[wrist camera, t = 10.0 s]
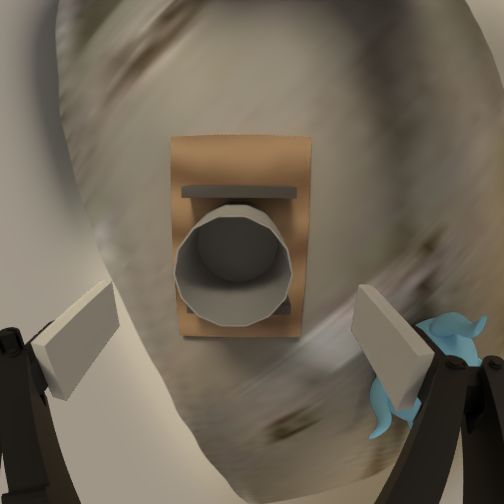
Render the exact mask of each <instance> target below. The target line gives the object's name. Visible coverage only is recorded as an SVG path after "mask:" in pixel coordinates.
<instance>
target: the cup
mask: <svg viewBox="0 0 504 504" xmlns="http://www.w3.org/2000/svg"><path fill="white" fill-rule="evenodd" d="M173 275H174V278H175V282H176V285H177V288H178V291H179V294H180V297H181V299H182V300H183V301H184V302H185V303H186V304H187V305H188V306H189V307H190V308H191V310H192V311H193V312H194V313H195V314H196V315H197V316H198V317H201V318H203V319H205V320H207V321H210V322H212V323H214V324H217V325H219V326H231V327H246V326H249V325H251V324H254V323H256V322H258V321H261V320H263V319H265V318H268V317H270V316H271V314H272V313H273V312H274V311H275V310H276V309H277V308H278V307H279V306H280V305H281V304H282V302H283V301H284V300H285V299H286V297H287V294H288V290H289V287H290V283H291V280H292V277H293V271H292V266H291V261H290V256H289V251H288V248H287V246H286V244H285V242H284V240H283V238H282V236H281V234H280V232H279V230H278V228H277V226H276V224H275V223H274V222H273V221H272V219H271V218H270V217H269V216H268V214H267V213H266V212H265V210H263V209H261V208H259V207H257V206H255V205H253V204H251V203H249V202H226V203H224V204H222V205H220V206H218V207H216V208H214V209H212V210H211V211H209V212H208V213H207V214H206V215H205V216H204V217H203V218H202V219H201V220H200V221H199V222H198V223H197V224H196V225H195V226H194V227H193V228H192V229H191V231H190V232H189V233H188V235H187V236H186V237H185V239H184V240H183V242H182V243H181V244H180V246H179V247H178V248H177V252H176V259H175V265H174V272H173Z"/></svg>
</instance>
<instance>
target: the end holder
mask: <svg viewBox="0 0 504 504" xmlns="http://www.w3.org/2000/svg"><path fill="white" fill-rule="evenodd" d="M310 170H311V138H310V137H294V136H270V135H205V136H182V137H171V215H172V240H173V258H174V265H175V259H176V252H177V248H178V247H179V246H180V244H181V243H182V242H183V240H184V239H185V237H186V236H187V235H188V233H189V232H190V231H191V229H192V228H193V227H194V226H195V225H196V224H197V223H198V222H199V221H200V220H201V219H202V218H203V217H204V216H205V215H206V214H207V213H208V212H209V211H211V210H212V209H214V208H216V207H218V206H220V205H222V204H224V203H226V202H249V203H251V204H253V205H255V206H257V207H259V208H261V209H263V210H265V212H266V213H267V214H268V216H269V217H270V218H271V219H272V221H273V222H274V223H275V224H276V226H277V228H278V230H279V232H280V234H281V236H282V238H283V240H284V242H285V244H286V246H287V248H288V251H289V256H290V261H291V266H292V271H293V277H292V280H291V283H290V287H289V290H288V294H287V297H286V299H285V300H284V301H283V302H282V304H281V305H280V306H279V307H278V308H277V309H276V310H275V311H274V312H273V313H272V314H271V316H270V317H268V318H265V319H263V320H261V321H258V322H256V323H254V324H251V325H249V326H246V327H231V326H219V325H217V324H214V323H212V322H210V321H207V320H205V319H203V318H201V317H198V316H197V315H196V314H195V313H194V312H193V311H192V310H191V308H190V307H189V306H188V305H187V304H186V303H185V302H184V301H183V300H182V299H181V297H180V294H179V291H178V288H177V285H176V282H175V287H176V299H177V310H178V320H179V330H180V335H184V336H206V337H300V333H301V323H302V312H303V301H304V289H305V275H306V261H307V245H308V226H309V203H310Z"/></svg>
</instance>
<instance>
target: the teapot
mask: <svg viewBox="0 0 504 504" xmlns="http://www.w3.org/2000/svg"><path fill="white" fill-rule="evenodd" d="M486 321H487V316H486V315H484V316H483V317H482V318H481V319H480V320H478V321H477V322H475V323H473V322H470V321H469V320H468V319H466V318H465V317H464V316H462V315H461V314H458V313H455V312H448V313H444V314H442V315H440V316H438V317H435V318H431V319H428V320H425V321H422V322H420V323H418V324H416V325H415V326H417V327H419V328H421V329H422V330H423V331H424V332H425V333H426V334H427V335H428V337H430V338H431V339H432V342H434V343H435V344H436V345H437V346H438V347H439V348H440V349H441V350H442V351H443V352H444V353H445V355H455V356H458V357H461V358H462V359H464V360H465V361H466V362H467V364H468V366H480V365H481V363H482V360H481V359H479V358H477V357H478V354H477V352H476V348H475V345H474V342H473V340H472V338H474V337H476V336H478V335H479V334H480V333H481V331H482V330H483V328H484V326H485V324H486ZM370 403H371V406H372V409H373V411H374V413H375V415H376V417H377V426H376V428H375V430H374V431H373V432H372V434H371V435H370V436H369V439H374V438H376V437H378V436H379V435H381V434H382V433H384V432H385V431H386V430H387V429H388V428H389V427H390V424H391V421H392V416H391V412H392V413H393V414H394V415H396V416H397V417H399V418H401V419H404V420H406V421H407V423H408V426H409V428H410V429H411V428H412V425H413V423H414V422H412V421H413V419H414V417H415V415H416V413H417V411H418V409H419V407H420V405H421V402H420V400H419V399H418V397H417V399H416V401H415V403H414V406H413V408H410V409H406V410H401V411H397V412H396V410H395V408H394V406H393V404H392V402H391V400H390V399H389V397H388V395H387V393H386V391H385V389H384V387H383V386H382V384H381V382H380V380H379V378H378V377H377V376H376V379H375V380H374V382H373V384H372V386H371V389H370Z"/></svg>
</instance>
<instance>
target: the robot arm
mask: <svg viewBox="0 0 504 504" xmlns="http://www.w3.org/2000/svg"><path fill="white" fill-rule="evenodd" d="M119 326H120V325H119V320H118V315H117V309H116V304H115V298H114V292H113V285H112V281H99V282H98V283H97V284H96V285H95V286H93V287H92V288H91V289H90V290H89V291H88V292H86V293H85V294H84V295H83V296H82V297H81V298H79V299H78V300H77V301H76V302H75V303H74V304H72V305H71V306H70V307H69V308H68V309H67V310H66V311H65V312H63V313H62V314H61V315H60V316H59V317H58V318H57V319H55V320H53V321H51V322H49V323H48V324H47V325H46V326H45V327H44V328H43V330H40V331H39V332H38V334H36V335H35V336H34V337H33V338H32V339H31V340H30V341H28V342H27V343H26V344H25V345H24V342H23V339H22V336H21V333H20V330H19V329H17V328H14V327H10V328H5V329H2V330H1V331H0V467H1V457H2V453H3V460H4V467H5V473H6V478H7V484H8V489H9V492H8V493H5V494H2V497H1V499H2V504H81V502H80V500H79V497H78V495H77V493H76V490H75V488H74V486H73V483H72V480H71V478H70V475H69V473H68V470H67V467H66V464H65V461H64V459H63V456H62V453H61V449H60V446H59V443H58V439H57V436H56V432H55V429H54V425H53V421H52V417H51V413H50V409H49V404H48V400H47V397H46V395H45V392H44V391H45V390H46V389H47V387H49V389H50V391H51V394H52V396H53V397H55V398H58V399H62V400H65V401H67V400H68V398H69V397H70V395H71V394H72V392H73V391H74V389H75V388H76V386H77V385H78V383H79V382H80V380H81V379H82V377H83V376H84V375H85V373H86V372H87V370H88V369H89V367H90V366H91V365H92V363H93V362H94V360H95V359H96V358H97V356H98V355H99V353H100V352H101V350H102V349H103V348H104V347H105V345H106V344H107V342H108V341H109V340H110V338H111V337H112V336H113V334H114V333H115V331H116V330H117V329H118V328H119ZM351 331H352V333H353V334H354V336H355V338H356V340H357V341H358V343H359V345H360V347H361V348H362V350H363V352H364V354H365V355H366V357H367V359H368V361H369V362H370V364H371V366H372V368H373V369H374V371H375V373H376V375H377V377H378V378H379V380H380V382H381V384H382V386H383V387H384V389H385V391H386V393H387V395H388V397H389V399H390V400H391V402H392V404H393V406H394V408H395V410H396V412H397V411H401V410H406V409H410V408H413V406H414V403H415V401H416V399H417V397H418V399H419V400H420V402H421V405H420V407H419V409H418V411H417V413H416V415H415V417H414V419H413V421H412V422H414V423H413V425H412V428H411V430H410V433H409V435H408V437H407V440H406V442H405V444H404V447H403V449H402V451H401V453H400V455H399V458H398V460H397V462H396V464H395V466H394V468H393V470H392V472H391V474H390V476H389V478H388V480H387V482H386V483H385V485H384V487H383V489H382V491H381V493H380V495H379V496H378V498H377V500H376V501H375V503H374V504H439V502H440V499H441V496H442V494H443V491H444V488H445V485H446V482H447V478H448V475H449V472H450V468H451V465H452V461H453V458H454V454H455V450H456V446H457V441H458V436H459V432H460V427H461V435H462V447H463V448H462V449H463V481H464V482H463V504H504V360H503V359H502V358H500V357H498V356H486V357H484V359H483V361H482V363H481V365H480V366H468V364H467V362H466V361H465V360H464V359H462V358H461V357H458V356H455V355H445V353H444V352H443V351H442V350H441V349H440V348H439V347H438V346H437V345H436V344H435V343H434V342H432V339H431V338H430V337H428V335H427V334H426V333H425V332H424V331H423V330H422V329H421V328H419V327H417V326H415V325H409V324H408V323H407V322H406V320H405V319H404V318H403V317H402V316H401V315H400V314H399V313H398V312H397V311H396V310H395V309H394V308H393V307H392V305H391V304H390V303H389V302H388V301H387V300H386V299H385V298H384V297H383V296H382V295H381V294H380V293H379V292H378V291H377V290H376V289H375V288H374V287H373V286H372V285H371V284H369V285H358V290H357V297H356V303H355V310H354V316H353V321H352V327H351Z"/></svg>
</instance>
